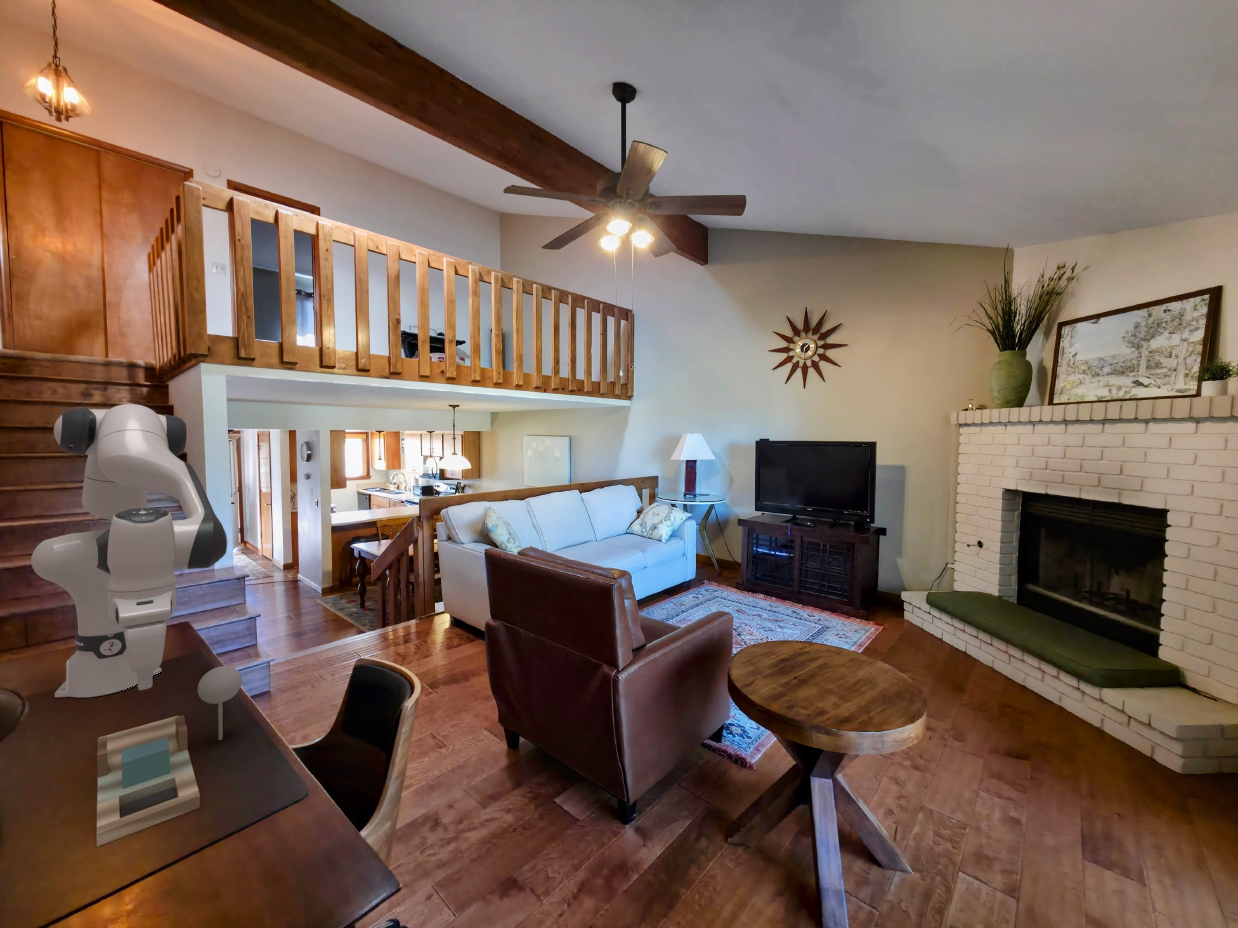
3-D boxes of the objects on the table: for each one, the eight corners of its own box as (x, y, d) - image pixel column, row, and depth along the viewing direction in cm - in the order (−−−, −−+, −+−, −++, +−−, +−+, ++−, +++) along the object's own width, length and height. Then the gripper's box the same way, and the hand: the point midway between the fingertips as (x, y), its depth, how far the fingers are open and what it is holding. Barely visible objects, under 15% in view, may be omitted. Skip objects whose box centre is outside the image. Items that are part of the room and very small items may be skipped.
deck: (98, 747, 100) (98, 717, 100) (178, 724, 108) (178, 697, 108) (96, 846, 75) (96, 807, 75) (199, 807, 84) (199, 771, 84)
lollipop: (250, 733, 106) (249, 663, 105) (213, 752, 99) (212, 677, 98) (226, 726, 108) (226, 658, 107) (189, 745, 101) (188, 671, 101)
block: (121, 775, 89) (121, 750, 89) (167, 760, 93) (167, 736, 93) (122, 788, 85) (122, 762, 85) (169, 772, 90) (169, 748, 89)
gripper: (117, 591, 93) (117, 664, 94) (118, 620, 79) (119, 706, 80) (162, 585, 98) (163, 654, 98) (172, 611, 84) (172, 692, 84)
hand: (143, 678), depth 89 cm, fingers open, 8 cm apart
